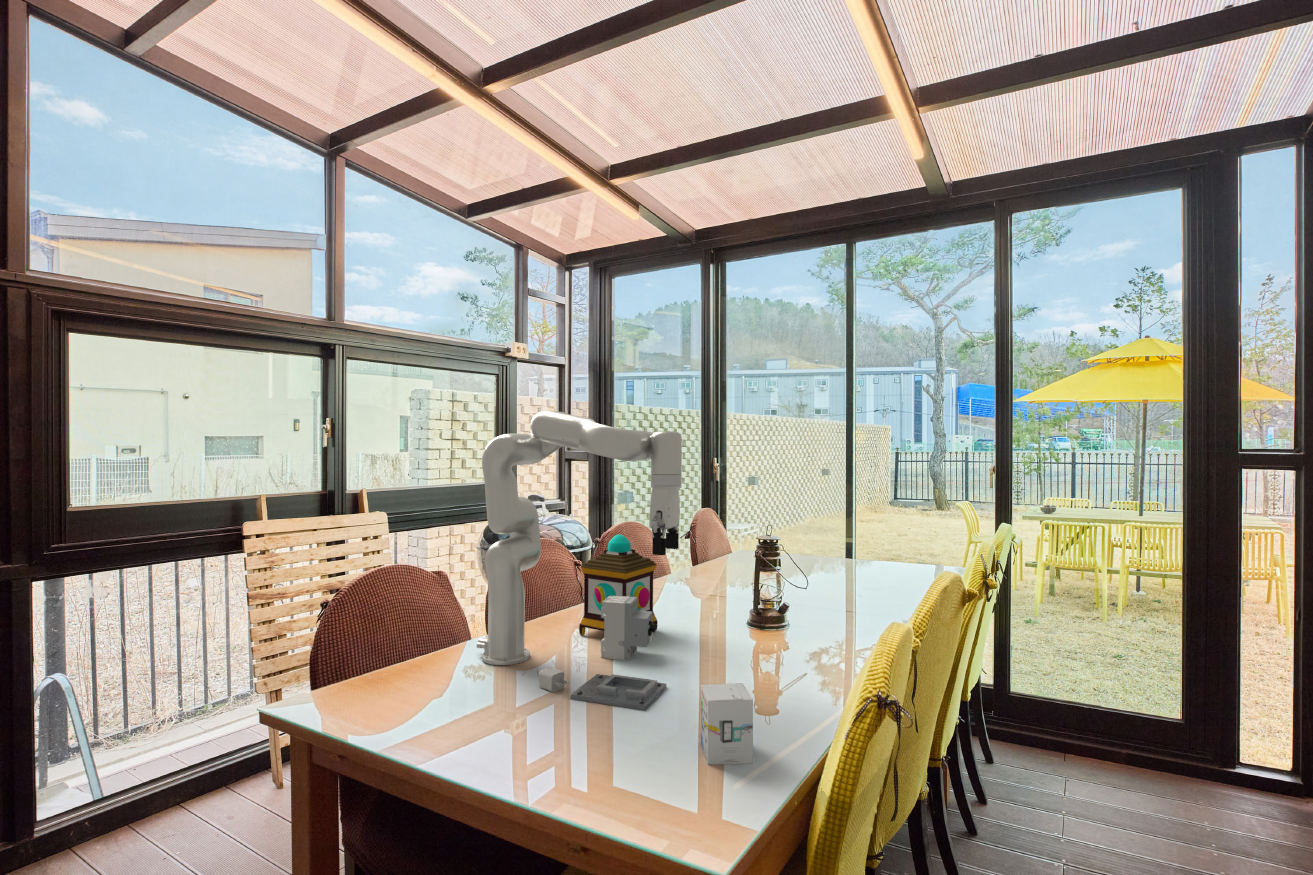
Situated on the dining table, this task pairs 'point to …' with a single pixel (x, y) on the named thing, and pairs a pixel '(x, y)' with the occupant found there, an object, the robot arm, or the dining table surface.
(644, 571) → the decorative lantern
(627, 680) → the plate
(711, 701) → the ink box
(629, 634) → the circuit breaker
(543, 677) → the usb wall charger
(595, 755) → the dining table surface
